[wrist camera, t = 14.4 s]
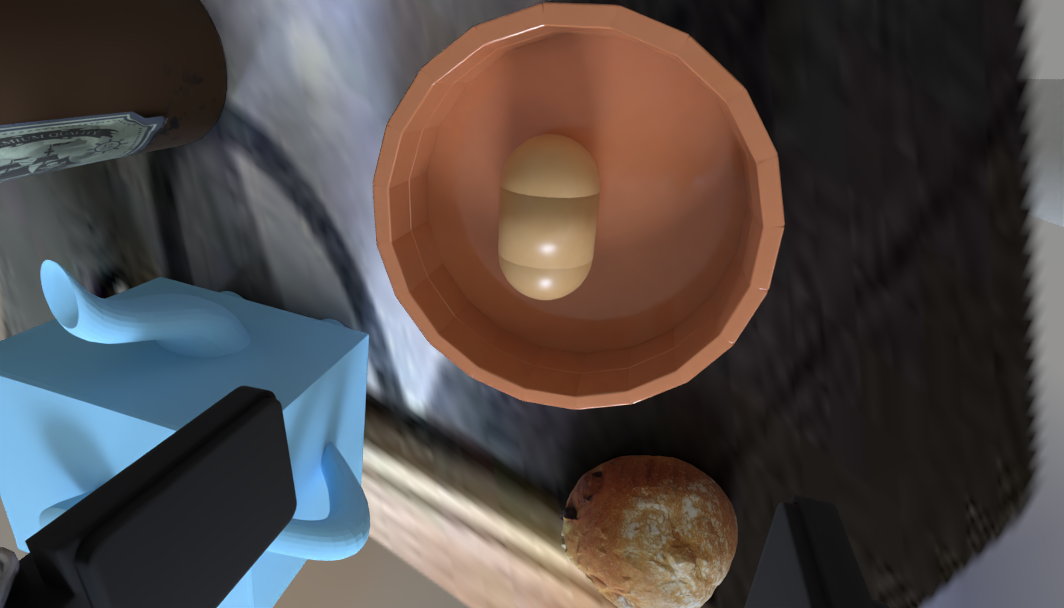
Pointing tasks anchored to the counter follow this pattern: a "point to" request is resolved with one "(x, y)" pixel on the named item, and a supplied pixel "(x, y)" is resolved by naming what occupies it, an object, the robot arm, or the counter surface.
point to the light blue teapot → (181, 406)
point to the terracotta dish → (623, 214)
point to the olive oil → (104, 80)
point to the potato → (548, 216)
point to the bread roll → (650, 532)
